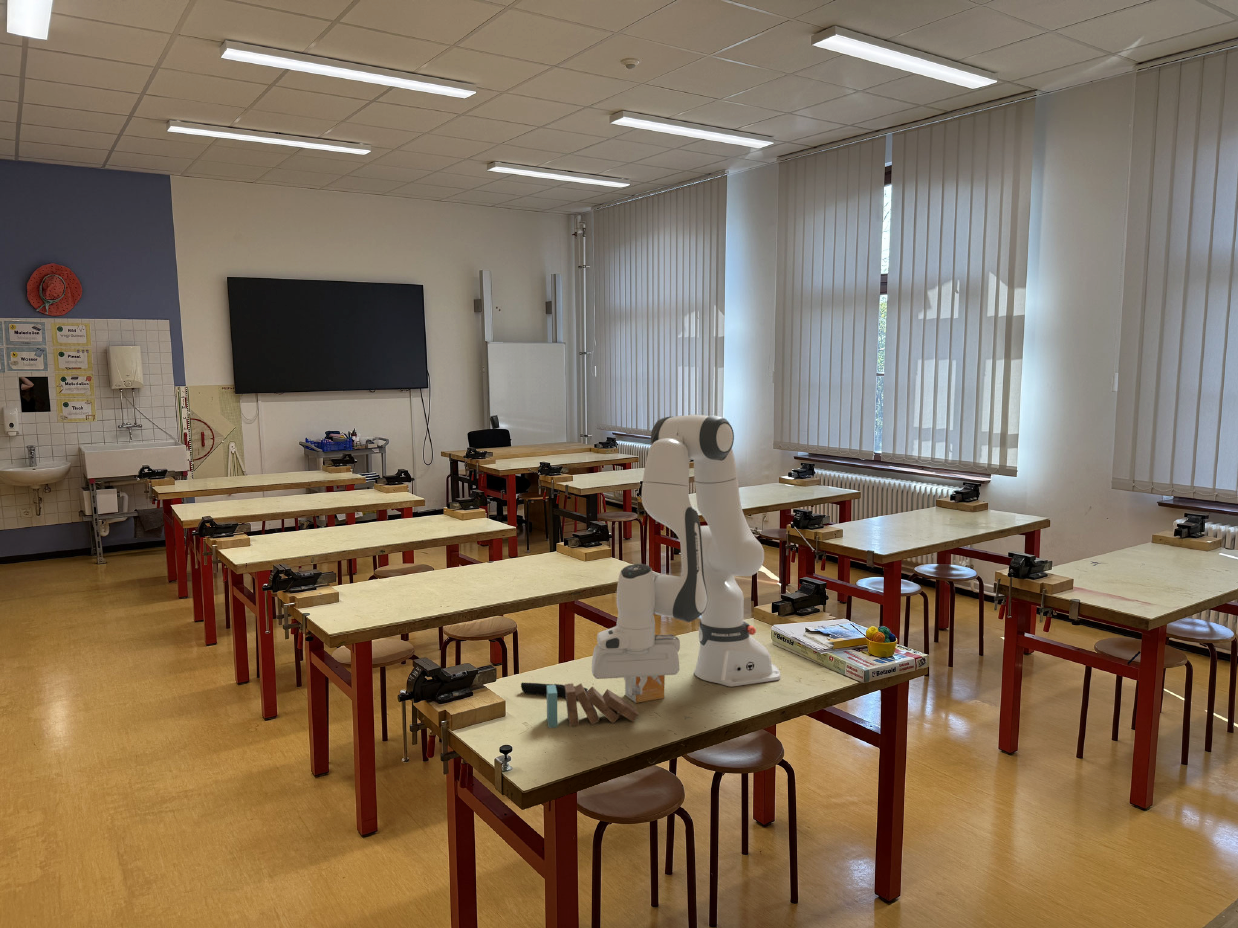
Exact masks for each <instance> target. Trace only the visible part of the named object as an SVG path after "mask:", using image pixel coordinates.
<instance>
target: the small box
mask: <svg viewBox="0 0 1238 928" xmlns="http://www.w3.org/2000/svg"><path fill="white" fill-rule="evenodd" d="M665 680H666V675H661V676H647V682H646V683H645V685H644V687H643V688H642V695H630V694H629V687H628V685H627V683H626V682H625V681H624V682H625V683H624V684H625V685H624V694H625V695H626V697H628V698H629V699H630V700H631V701H633V702H634V703H635V704H636V703H641V702H642V703H643V702H648V701H654V700H661V699H662V700H663V699H664V698H665V686H666V685H665V683H666V682H665ZM640 681H641V679H640V677H631V681H629V682H630V684H631V685H638V684H639V683H640Z"/></svg>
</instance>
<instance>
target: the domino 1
mask: <svg viewBox="0 0 1238 928" xmlns="http://www.w3.org/2000/svg"><path fill="white" fill-rule="evenodd" d="M546 721H547V726H548V729H550V728H558V697H557V690H556V686H555V685H554V684H553V685H547V695H546Z"/></svg>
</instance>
